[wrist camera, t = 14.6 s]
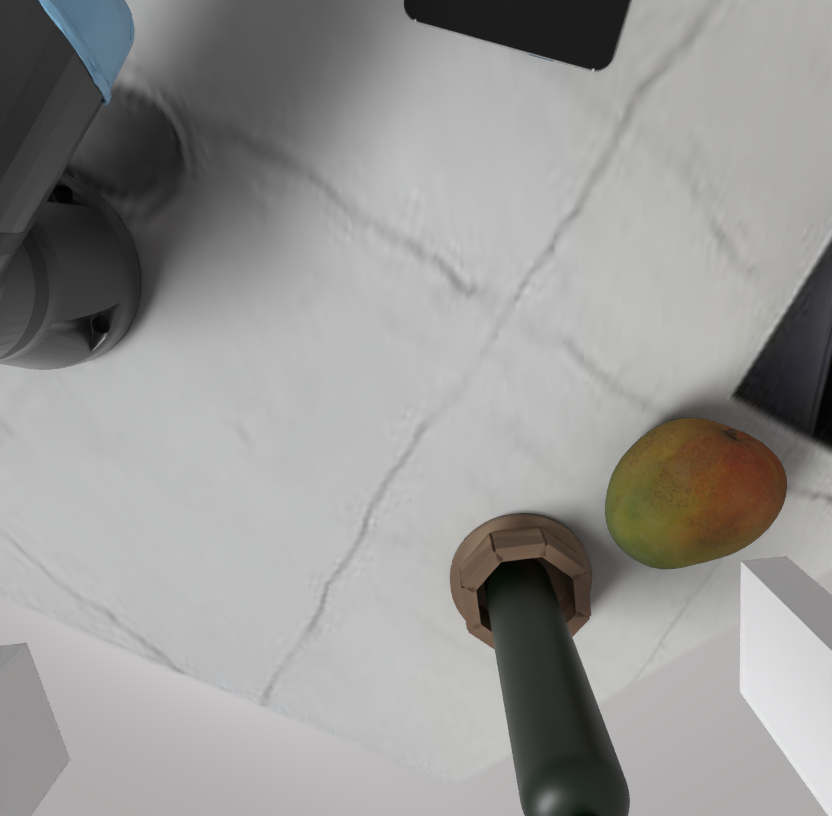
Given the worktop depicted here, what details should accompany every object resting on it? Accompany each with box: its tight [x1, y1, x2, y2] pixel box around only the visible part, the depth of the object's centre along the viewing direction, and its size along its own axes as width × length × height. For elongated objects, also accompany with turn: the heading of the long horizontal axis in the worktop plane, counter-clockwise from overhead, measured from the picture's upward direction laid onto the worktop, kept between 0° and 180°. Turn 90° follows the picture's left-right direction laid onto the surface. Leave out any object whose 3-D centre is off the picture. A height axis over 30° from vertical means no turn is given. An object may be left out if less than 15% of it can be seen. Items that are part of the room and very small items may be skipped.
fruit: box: [605, 418, 787, 569], centre depth 44 cm, size 12×12×10 cm
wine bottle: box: [484, 558, 630, 816], centre depth 36 cm, size 6×6×30 cm
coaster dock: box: [450, 514, 592, 649], centre depth 49 cm, size 12×12×4 cm
